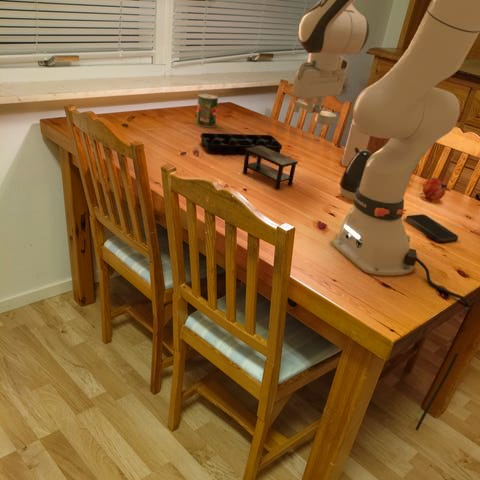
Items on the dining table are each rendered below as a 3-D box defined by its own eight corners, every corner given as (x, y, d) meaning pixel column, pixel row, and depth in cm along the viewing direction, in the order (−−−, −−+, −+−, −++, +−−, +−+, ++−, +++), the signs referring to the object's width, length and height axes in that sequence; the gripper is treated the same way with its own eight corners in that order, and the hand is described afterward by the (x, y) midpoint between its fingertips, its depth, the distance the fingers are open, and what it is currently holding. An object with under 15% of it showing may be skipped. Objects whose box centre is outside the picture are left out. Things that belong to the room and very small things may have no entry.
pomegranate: (413, 203, 163) (437, 196, 154) (412, 182, 163) (436, 173, 154) (429, 204, 166) (453, 197, 157) (428, 183, 166) (452, 175, 157)
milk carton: (360, 169, 177) (375, 115, 166) (341, 166, 178) (355, 112, 166) (360, 163, 183) (375, 111, 171) (342, 160, 183) (355, 107, 172)
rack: (292, 185, 156) (297, 161, 151) (277, 190, 151) (282, 165, 146) (257, 168, 164) (260, 145, 159) (241, 172, 159) (244, 148, 154)
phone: (439, 239, 134) (405, 215, 144) (438, 243, 135) (403, 219, 145) (460, 237, 137) (424, 214, 147) (458, 240, 138) (423, 217, 148)
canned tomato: (194, 121, 199) (196, 92, 193) (212, 122, 202) (215, 93, 195) (198, 127, 194) (200, 97, 187) (217, 127, 196) (220, 99, 189)
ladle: (338, 124, 143) (341, 113, 142) (326, 126, 140) (329, 115, 138) (300, 110, 151) (301, 99, 149) (287, 111, 147) (289, 101, 145)
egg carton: (286, 155, 179) (288, 145, 177) (215, 160, 165) (216, 149, 163) (261, 140, 191) (263, 130, 188) (193, 143, 177) (194, 132, 174)
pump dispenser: (357, 191, 159) (370, 144, 150) (374, 204, 152) (389, 156, 143) (330, 191, 156) (342, 144, 147) (347, 205, 148) (361, 156, 139)
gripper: (309, 64, 128) (299, 118, 137) (352, 62, 141) (340, 112, 149) (291, 59, 132) (282, 112, 140) (335, 57, 144) (324, 106, 152)
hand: (312, 112), depth 145 cm, fingers closed on ladle
